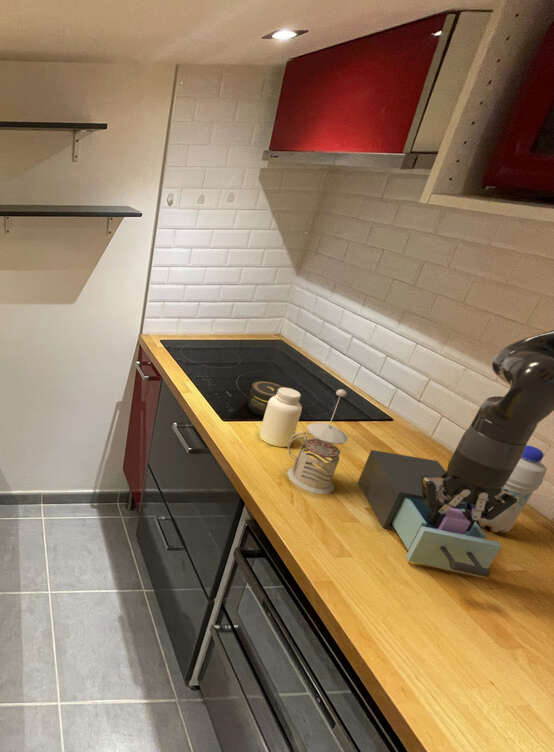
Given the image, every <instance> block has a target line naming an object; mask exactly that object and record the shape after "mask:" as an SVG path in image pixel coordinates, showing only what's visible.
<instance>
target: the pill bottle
mask: <svg viewBox="0 0 554 752" xmlns="http://www.w3.org/2000/svg"><path fill="white" fill-rule="evenodd" d="M301 396H302V395H301V393H300V392H299V391H298V390H296V389H294V388H290V387H284V388H279V389H278V392H277V394H276V396H273V397H271V398H270V400H269V401H268V405H267V408H266V412H265V415H264V417H263V419H262V422H261V425H260V429H259V438H260V439H261V440H262V441H264V442H265V443H266V444H269V445H271V446H274V447H280V448H285V447H286V448H287V444H288V441H289V439H290V437H291V436H292V435H294V434H295V433H296V430H297V426H298V423H299V420H300V417H301V414H302V411H303V406H302V403H300V399H301ZM294 436H295V435H294ZM294 436H293V437H292V438H291V440H290V442H289V444H290V443H291V441H292V440H293V439H294ZM291 444H292V443H291Z"/></svg>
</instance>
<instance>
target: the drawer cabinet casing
mask: <svg viewBox="0 0 554 752" xmlns="http://www.w3.org/2000/svg"><path fill="white" fill-rule="evenodd" d="M446 471H447V469H445V468H444V467H443V466H442V464H441V463H440V462H439V461H438V460H434V459H428V458H423V457H416V456H411V455H404V454H399V453H392V452H387V451H381V450H375V449H371V450H370V452H369V454H368V456H367V459H366V461H365V463H364V466H363V469H362V471H361V474H360V475H359V478H358V481H357V486H359V488H360V490H361V493H362V494H363V496H364V497H365V499H366V501H367V503H368V504H369V506H370V508H371V510H372V512H373V513H374V515H375V517H376V518H377V521H378V522H379V524H380V526H381V527H382V528H383V529H386V530H390V531H391V530H392V531H396V529H395V528H394V526H393V524H392V523H391V520H392V518H393V516H394V514H395V512H396V510H397V508H398V506H399V504H400V502H401V500H402V497H403V496H405V497H410V498H415V499H421V500H423V498H422V485H421V476H423V475H428V476H429V478H437V477H440V476H441V475H442V474H444V473H445V472H446ZM442 488H443V485H440V486H439V490H438V491H436V497H437V496H438V492H439V491H440V490H441V489H442ZM465 503H466V502H460V503H459V504H458V505H457V506H458V507H463V508H464V509H465Z"/></svg>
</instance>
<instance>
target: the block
mask: <svg viewBox="0 0 554 752" xmlns="http://www.w3.org/2000/svg"><path fill="white" fill-rule="evenodd" d="M445 514H446V516H445V517H444V519H443V521H442V522H441V524H440V526H439V528H437V529H438V530H443V531H448V532H453V533H458V534H463V535H464V533H465V532H466V530H467V528H468V526H469V525H470V522H469V520H468V519H467V518H466V517H465V516H464V514H463V513H462V512H461V510H460V509H455V508H450V509H449V510H448V511H447V512H446V513H445Z"/></svg>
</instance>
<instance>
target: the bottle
mask: <svg viewBox="0 0 554 752" xmlns="http://www.w3.org/2000/svg"><path fill="white" fill-rule="evenodd" d="M543 458H544V452H543V451H542V450H541V449H539V448H537V447H535V446H532V445H526V447H525V450H524V453H523V455H522V457H521V459H520V460H519V462H518V464H517V466H516V467H515V469H514V471H513V472H512V474H511V476H510V477H509V479H508V481H507V482H506V484H505V486H503V487H502V489H506V490H508V491H509V492H510V493H511V494H512V495H513V496H514V497H515V498H516V499H517V502H516V503H515V504H513V505H512V506H510V507H509V508H508V509H506V510H505V511H504V512H502V513H501V514H499V515H498V516H497V517H495V518H494V519H492V520H487V519H486V518H480V519H479V520H476V521H475V522H476V523H477V522H478V525H479V527H480V528H485V527H489V528H490V532H492V533H498V532H499V533H502V534H503V533H505V534H506V533H508V532H509V531H511V529H512V528H513V527H514V525H515V524H516V522H517V520H518V518H519V516H520V514H521V511H522V510H523V509H524V507H525V506H526V503H527V502H528V501H529V499H530V498H531V496H532V495H533V493H534V492H535V491H536V490H538V489H539V487H540V486H542V484H543V482H544V478H545V475H546V473H547V467H546V466H545V464H543V463H542V462H541V461H542V460H543ZM487 500H488V499H487ZM487 500H486V501H487ZM491 509H493V507H492V508H491ZM491 509H489V510H488V511H490V510H491Z"/></svg>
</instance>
